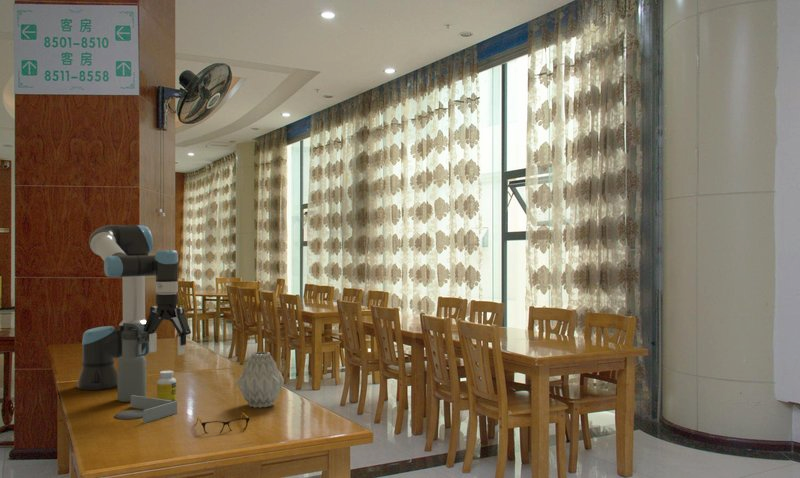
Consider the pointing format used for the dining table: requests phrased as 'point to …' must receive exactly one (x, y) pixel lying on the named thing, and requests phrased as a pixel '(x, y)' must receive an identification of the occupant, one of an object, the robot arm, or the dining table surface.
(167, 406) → the fence end
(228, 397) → the dining table surface
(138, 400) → the fence long
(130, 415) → the coaster
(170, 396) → the pill bottle
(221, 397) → the dining table surface
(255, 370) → the vase
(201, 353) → the dining table surface
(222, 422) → the eyeglasses
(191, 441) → the dining table surface
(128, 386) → the water bottle
